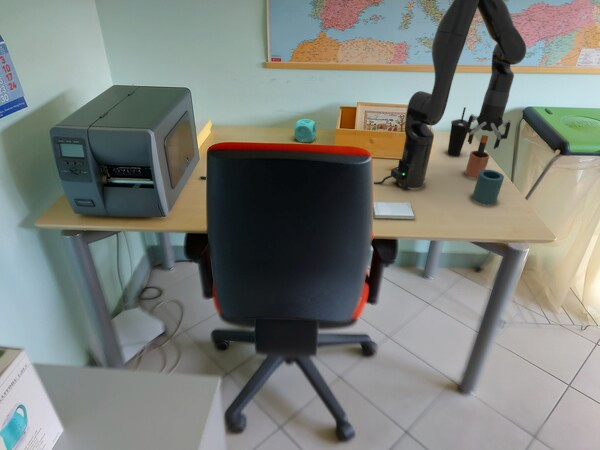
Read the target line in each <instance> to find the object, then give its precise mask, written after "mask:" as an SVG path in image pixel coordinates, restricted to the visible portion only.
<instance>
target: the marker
mask: <svg viewBox="0 0 600 450" xmlns="http://www.w3.org/2000/svg"><path fill="white" fill-rule="evenodd" d="M488 139H489V136H488V135H486V134H483V135H481V137H480V141H479V144H478V147H477V150H476V151H477V155H476V156H477V157H481V158H482V157H483V153H484V152H485V150H486V146H487V142H488Z"/></svg>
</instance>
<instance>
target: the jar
mask: <svg viewBox="0 0 600 450" xmlns="http://www.w3.org/2000/svg"><path fill="white" fill-rule="evenodd" d="M476 179H477V180H476V183H475V186H474V190H473V193H472V199H473V200H474V201H475V202H477V203H478V204H482V205H494V204H495V203H496V202H497V200H498V197H499V193H500V191H501V188H502V185H503V182H504V179H505V176H504V174H503V173H501V172H499V171H496V170H493V169H485V170H482V171H480V172H479V176H478V178H476Z"/></svg>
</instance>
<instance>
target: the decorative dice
mask: <svg viewBox="0 0 600 450" xmlns="http://www.w3.org/2000/svg"><path fill="white" fill-rule="evenodd" d="M316 134H317V124H316V122H315V121H314V120H312V119H308V118H307V119H306V118H303V119H302V118H301V119H299V120H297V121H296V122H295V126H294V138H295V139H296V141H297V142H300V143H304V142H307V143H312V142H313V141H314V140H315V138H316ZM302 140H303V141H302Z"/></svg>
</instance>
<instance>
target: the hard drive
mask: <svg viewBox="0 0 600 450" xmlns="http://www.w3.org/2000/svg"><path fill="white" fill-rule="evenodd" d="M373 202H374V208H372V211H373V217H374V219H391V220H392V219H394V220H415V214H414V212H413V211H414V210H413V209H412V206H411V203H410V202H390V201H388V202H386V201H373Z"/></svg>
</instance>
